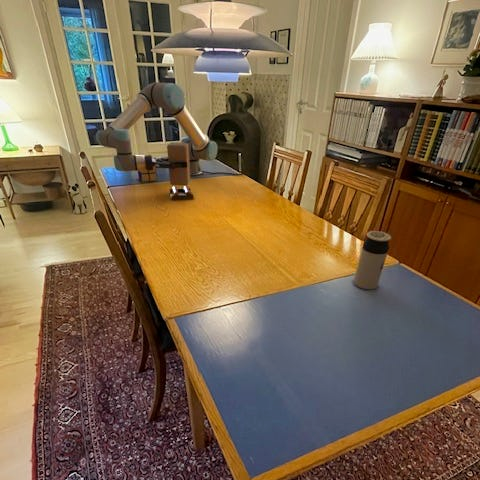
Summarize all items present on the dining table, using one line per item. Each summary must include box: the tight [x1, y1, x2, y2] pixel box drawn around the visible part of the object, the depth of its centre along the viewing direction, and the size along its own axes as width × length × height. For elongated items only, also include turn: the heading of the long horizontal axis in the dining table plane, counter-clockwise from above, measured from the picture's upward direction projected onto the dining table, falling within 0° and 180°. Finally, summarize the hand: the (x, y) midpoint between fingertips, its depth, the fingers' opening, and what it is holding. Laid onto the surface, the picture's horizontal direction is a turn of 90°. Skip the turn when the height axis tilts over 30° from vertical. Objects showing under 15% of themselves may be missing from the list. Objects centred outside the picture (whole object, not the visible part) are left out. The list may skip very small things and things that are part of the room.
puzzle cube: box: [137, 166, 158, 183], centre depth 220 cm, size 10×10×10 cm
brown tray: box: [169, 185, 194, 201], centre depth 195 cm, size 12×14×4 cm
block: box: [166, 141, 191, 186], centre depth 186 cm, size 10×10×20 cm
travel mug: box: [353, 230, 392, 290], centre depth 114 cm, size 8×8×18 cm
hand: (185, 162), depth 186 cm, fingers closed on block, 12 cm apart
